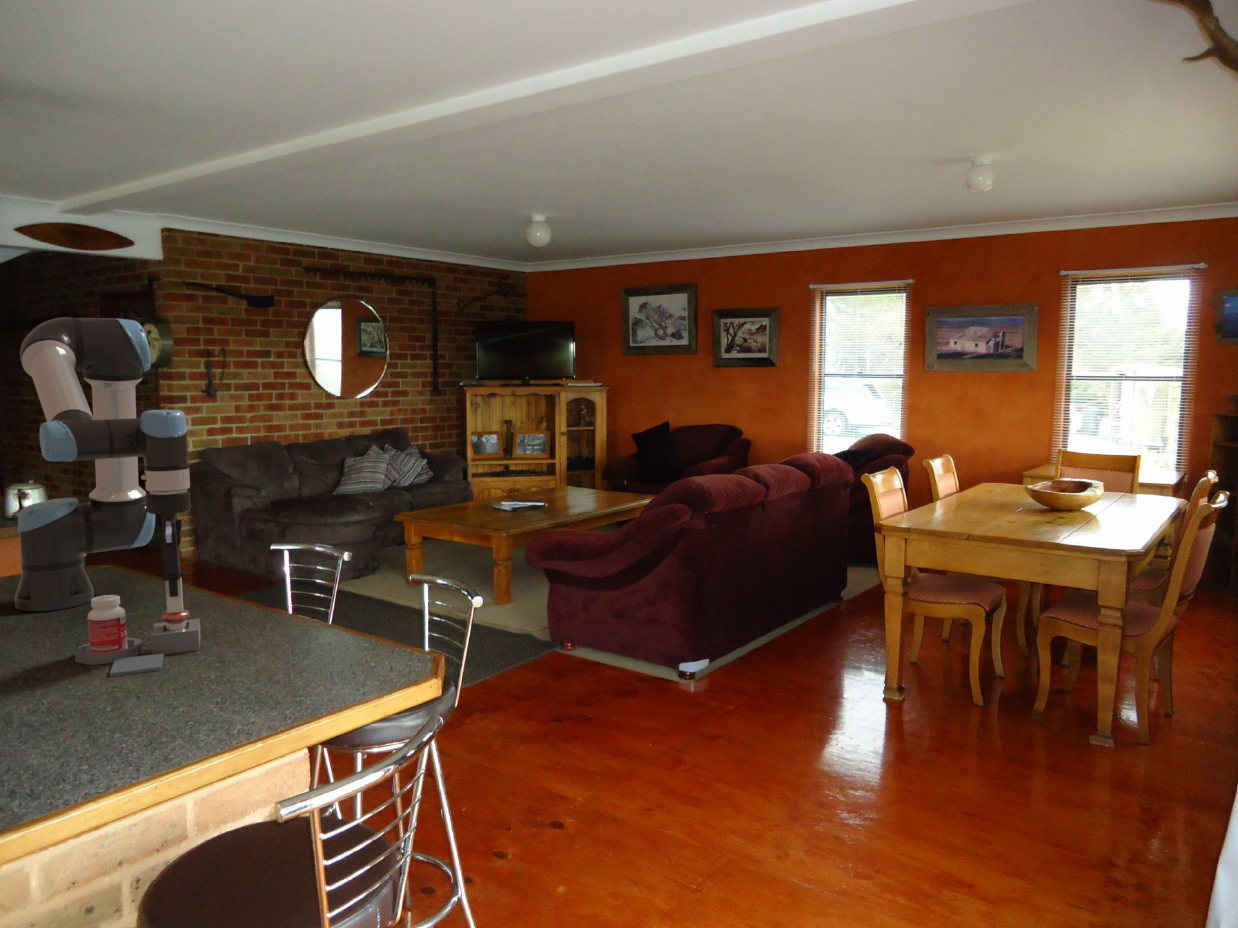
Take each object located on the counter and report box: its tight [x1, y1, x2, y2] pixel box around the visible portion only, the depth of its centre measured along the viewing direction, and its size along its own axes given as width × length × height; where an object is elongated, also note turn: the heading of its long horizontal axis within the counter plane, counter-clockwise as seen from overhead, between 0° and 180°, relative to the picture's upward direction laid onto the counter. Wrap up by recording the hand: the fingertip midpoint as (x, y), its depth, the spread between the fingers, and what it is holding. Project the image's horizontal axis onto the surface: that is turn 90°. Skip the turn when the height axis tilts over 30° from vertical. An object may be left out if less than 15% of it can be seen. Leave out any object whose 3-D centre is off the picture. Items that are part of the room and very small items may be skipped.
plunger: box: [160, 608, 190, 631], centre depth 168 cm, size 5×5×6 cm
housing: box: [74, 618, 202, 666], centre depth 166 cm, size 10×21×4 cm, turn 114°
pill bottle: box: [87, 594, 128, 655], centre depth 163 cm, size 6×6×11 cm
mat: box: [109, 653, 165, 677], centre depth 158 cm, size 8×8×1 cm
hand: (175, 611), depth 168 cm, fingers closed
